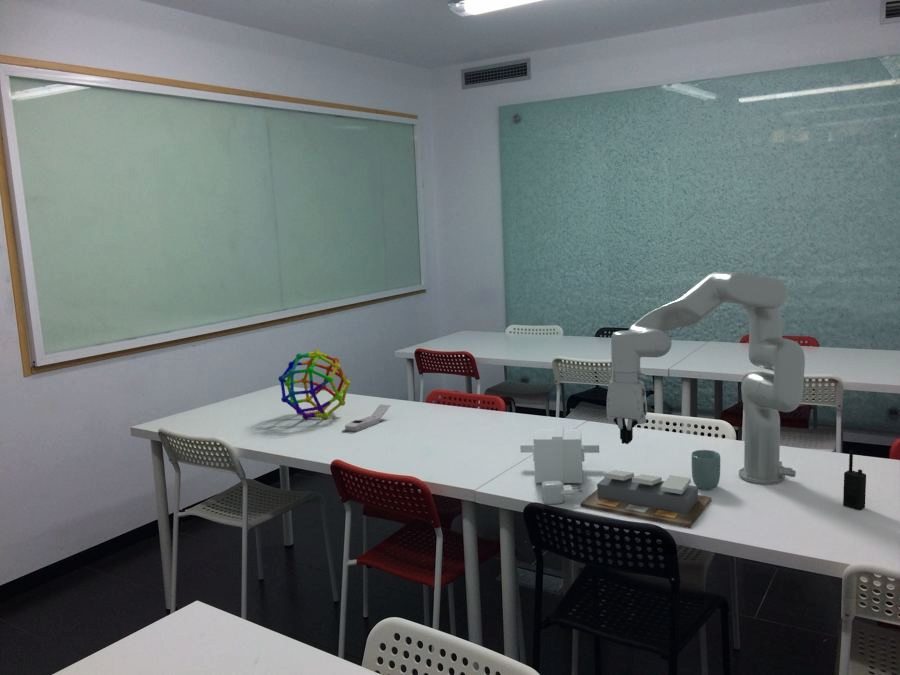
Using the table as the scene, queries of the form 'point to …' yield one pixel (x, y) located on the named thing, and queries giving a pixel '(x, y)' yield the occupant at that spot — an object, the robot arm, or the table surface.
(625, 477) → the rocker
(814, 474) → the table surface
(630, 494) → the switch housing
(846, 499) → the walkie-talkie
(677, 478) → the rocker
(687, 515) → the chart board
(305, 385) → the geometric model
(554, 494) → the power adapter
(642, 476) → the rocker
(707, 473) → the cup
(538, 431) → the blocky voxel creature
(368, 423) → the mobile phone
